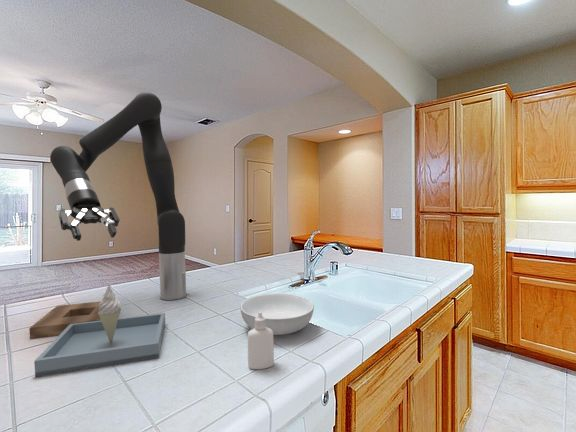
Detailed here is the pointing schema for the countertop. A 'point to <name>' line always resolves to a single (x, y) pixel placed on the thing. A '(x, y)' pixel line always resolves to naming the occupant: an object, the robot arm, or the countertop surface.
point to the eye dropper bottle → (260, 345)
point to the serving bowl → (278, 312)
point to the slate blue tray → (102, 345)
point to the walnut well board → (64, 319)
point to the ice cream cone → (109, 312)
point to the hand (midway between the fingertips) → (97, 237)
